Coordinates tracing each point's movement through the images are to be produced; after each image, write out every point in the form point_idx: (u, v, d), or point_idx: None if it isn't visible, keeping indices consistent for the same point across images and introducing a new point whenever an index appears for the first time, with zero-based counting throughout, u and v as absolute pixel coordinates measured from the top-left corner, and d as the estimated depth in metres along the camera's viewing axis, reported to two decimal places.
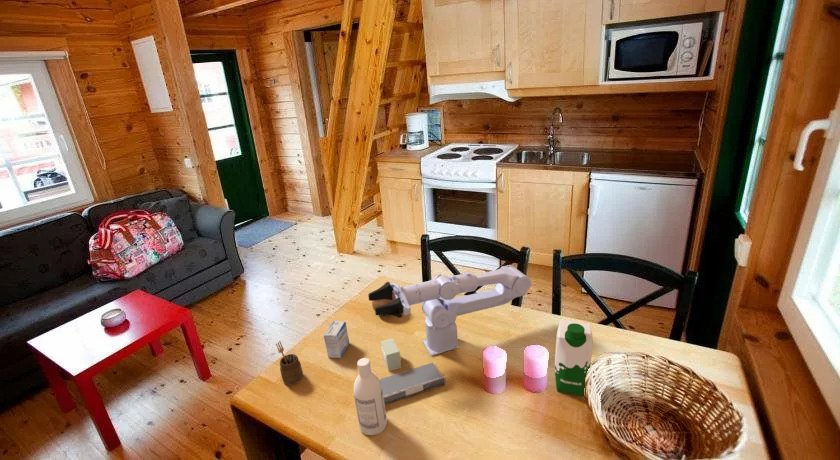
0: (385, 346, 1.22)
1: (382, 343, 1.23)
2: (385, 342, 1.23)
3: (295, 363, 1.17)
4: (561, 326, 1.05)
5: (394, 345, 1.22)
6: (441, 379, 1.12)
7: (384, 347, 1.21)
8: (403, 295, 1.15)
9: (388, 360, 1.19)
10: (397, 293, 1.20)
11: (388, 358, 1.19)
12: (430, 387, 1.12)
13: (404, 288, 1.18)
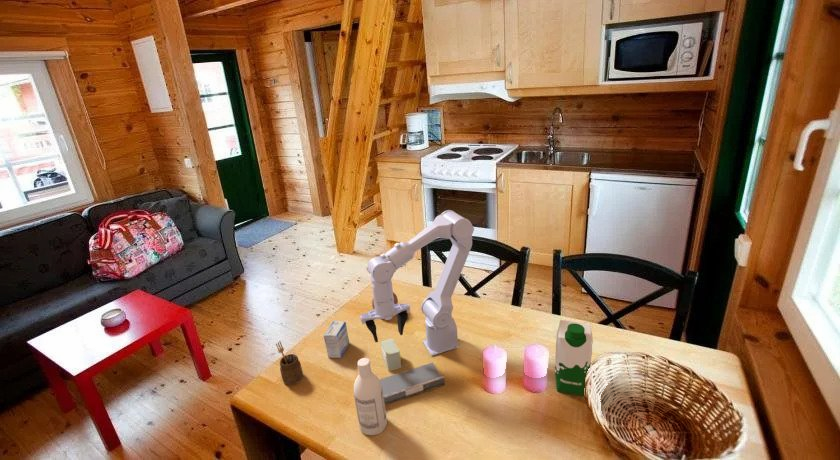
0: (385, 346, 1.22)
1: (382, 343, 1.23)
2: (385, 342, 1.23)
3: (295, 363, 1.17)
4: (561, 326, 1.05)
5: (394, 345, 1.22)
6: (441, 379, 1.12)
7: (384, 347, 1.21)
8: (396, 313, 1.16)
9: (388, 360, 1.19)
10: None
11: (388, 358, 1.19)
12: (430, 387, 1.12)
13: (387, 313, 1.14)
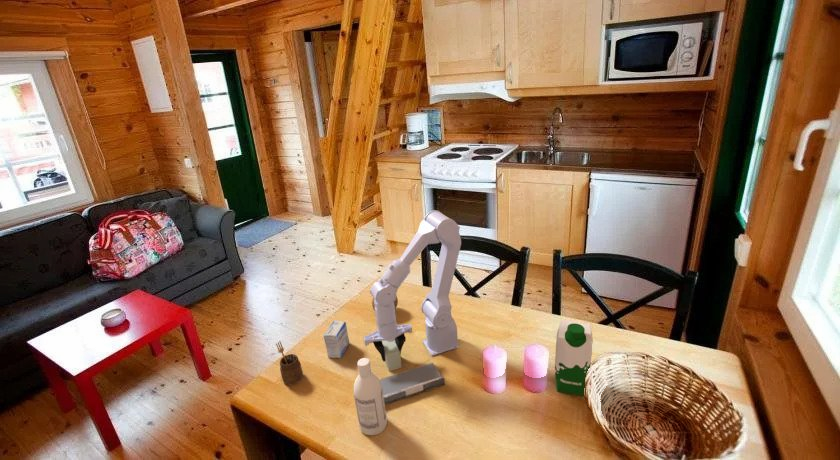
0: (385, 346, 1.22)
1: None
2: (385, 342, 1.23)
3: (295, 363, 1.17)
4: (561, 326, 1.05)
5: (394, 345, 1.22)
6: (441, 379, 1.12)
7: (384, 347, 1.21)
8: (398, 335, 1.19)
9: (388, 360, 1.19)
10: None
11: (388, 358, 1.19)
12: (430, 387, 1.12)
13: (390, 335, 1.17)
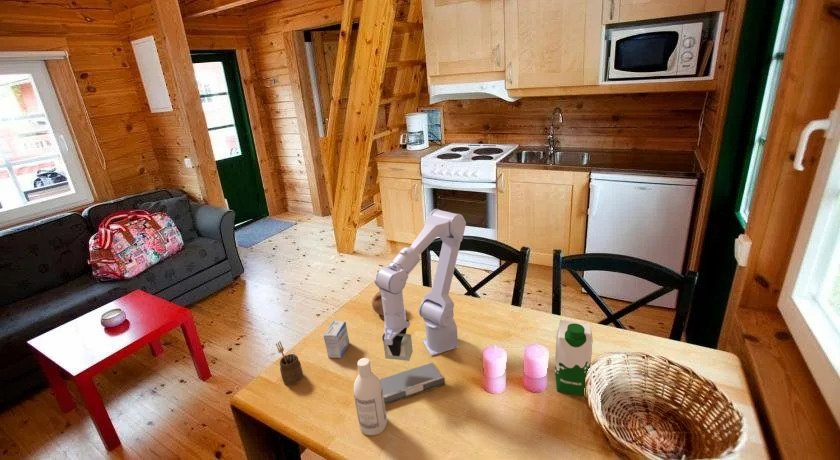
0: None
1: None
2: None
3: (295, 363, 1.17)
4: (561, 326, 1.05)
5: (399, 334, 1.15)
6: (441, 379, 1.12)
7: None
8: (405, 319, 1.14)
9: (408, 348, 1.12)
10: None
11: (408, 346, 1.12)
12: (430, 387, 1.12)
13: (405, 321, 1.11)
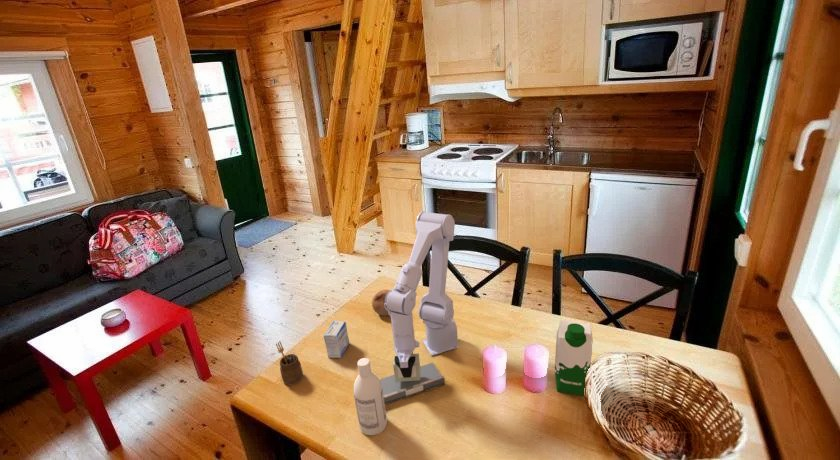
0: None
1: None
2: None
3: (295, 363, 1.17)
4: (561, 326, 1.05)
5: None
6: (441, 379, 1.12)
7: None
8: None
9: (419, 368, 1.11)
10: None
11: (419, 365, 1.11)
12: (430, 387, 1.12)
13: (414, 340, 1.10)
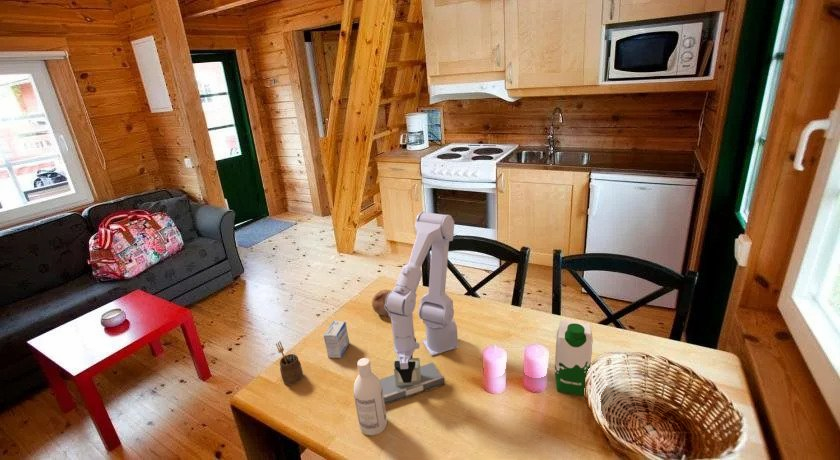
0: None
1: None
2: None
3: (295, 363, 1.17)
4: (561, 326, 1.05)
5: None
6: (441, 379, 1.12)
7: None
8: None
9: (419, 372, 1.12)
10: None
11: (419, 370, 1.12)
12: (430, 387, 1.12)
13: (414, 342, 1.10)
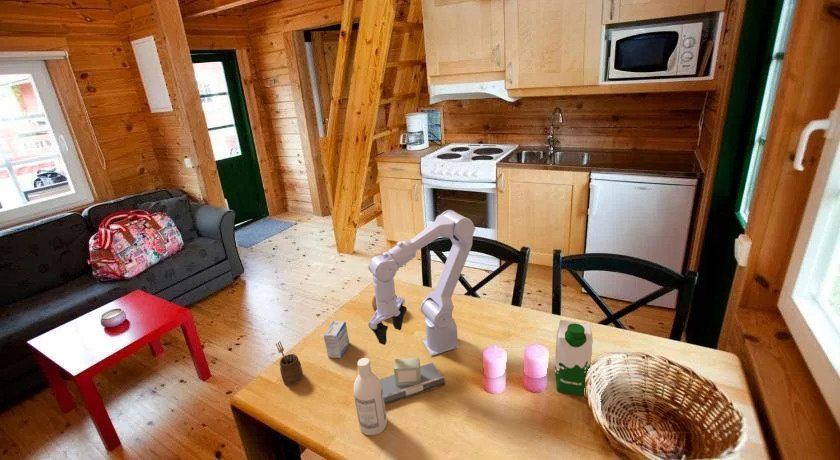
0: (404, 366, 1.12)
1: (398, 367, 1.11)
2: (398, 365, 1.12)
3: (295, 363, 1.17)
4: (561, 326, 1.05)
5: (407, 359, 1.14)
6: (441, 379, 1.12)
7: (405, 367, 1.11)
8: (399, 308, 1.17)
9: (419, 372, 1.12)
10: None
11: (419, 370, 1.12)
12: (430, 387, 1.12)
13: (395, 309, 1.14)
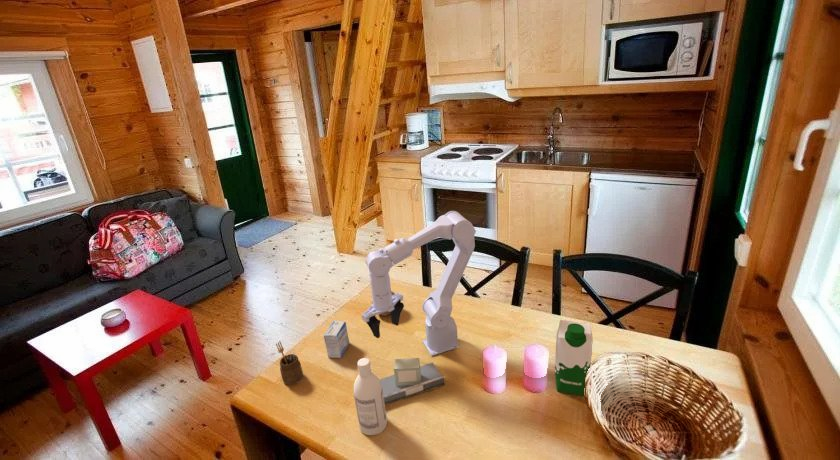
0: (404, 366, 1.12)
1: (398, 367, 1.11)
2: (398, 365, 1.12)
3: (295, 363, 1.17)
4: (561, 326, 1.05)
5: (407, 359, 1.14)
6: (441, 379, 1.12)
7: (405, 367, 1.11)
8: (394, 304, 1.19)
9: (419, 372, 1.12)
10: None
11: (419, 370, 1.12)
12: (430, 387, 1.12)
13: (389, 305, 1.16)
